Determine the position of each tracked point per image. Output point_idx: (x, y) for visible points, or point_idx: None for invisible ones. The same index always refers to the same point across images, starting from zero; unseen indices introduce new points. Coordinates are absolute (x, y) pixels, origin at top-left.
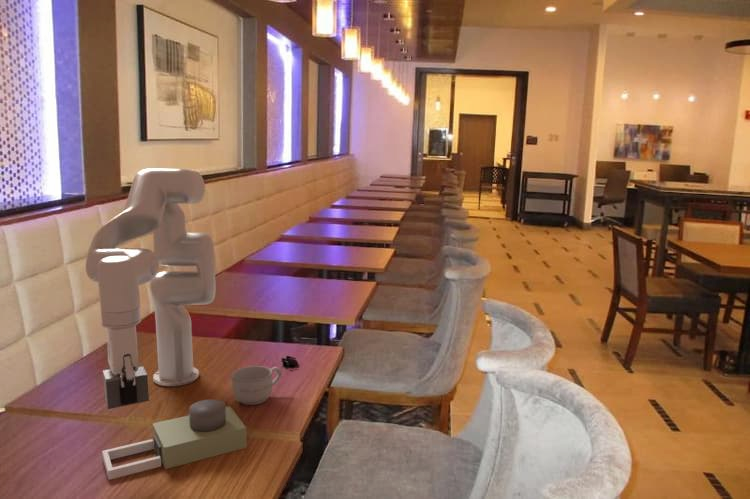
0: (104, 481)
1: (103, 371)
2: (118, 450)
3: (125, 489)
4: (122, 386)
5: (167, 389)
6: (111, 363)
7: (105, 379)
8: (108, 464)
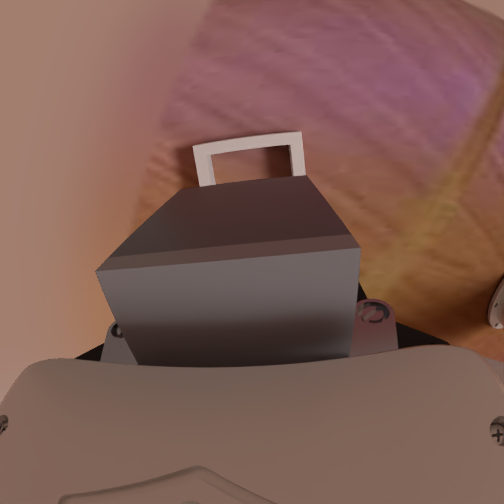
0: (195, 135)
1: (322, 254)
2: (293, 169)
3: (152, 179)
4: (113, 329)
5: (495, 280)
6: (38, 440)
7: (125, 262)
8: (223, 145)
